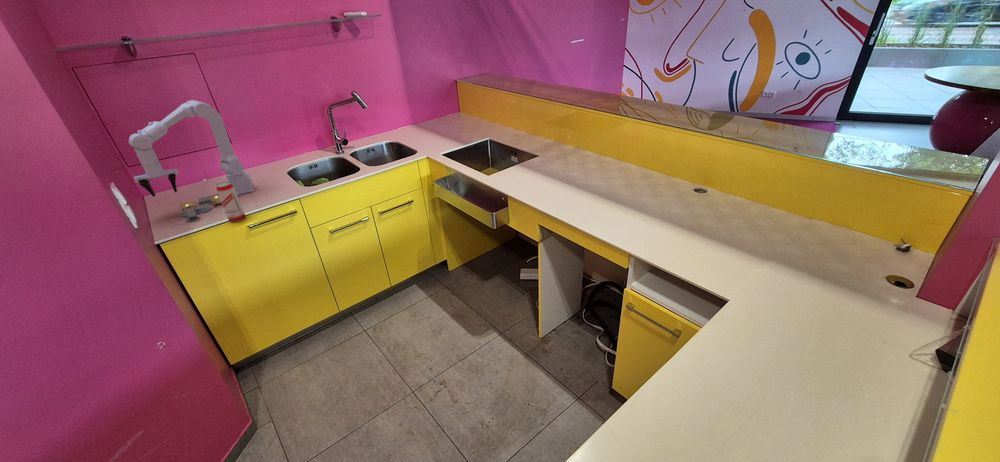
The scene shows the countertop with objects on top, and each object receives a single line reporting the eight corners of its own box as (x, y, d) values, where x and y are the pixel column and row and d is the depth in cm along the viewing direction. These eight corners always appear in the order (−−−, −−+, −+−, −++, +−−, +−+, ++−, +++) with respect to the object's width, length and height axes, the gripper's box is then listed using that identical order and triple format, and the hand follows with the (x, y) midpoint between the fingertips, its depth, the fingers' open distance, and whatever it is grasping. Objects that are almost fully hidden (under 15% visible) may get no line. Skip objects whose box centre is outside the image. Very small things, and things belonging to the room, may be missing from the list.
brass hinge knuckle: (210, 204, 190) (206, 196, 188) (210, 210, 184) (206, 202, 182) (184, 209, 186) (180, 201, 184) (183, 216, 180) (179, 208, 178)
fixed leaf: (225, 196, 198) (221, 188, 196) (225, 204, 190) (222, 195, 188) (200, 201, 193) (196, 193, 191) (200, 210, 186) (196, 201, 184)
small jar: (200, 215, 180) (193, 201, 177) (197, 219, 177) (190, 205, 173) (189, 217, 179) (182, 203, 176) (186, 221, 176) (179, 207, 172)
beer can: (233, 216, 179) (219, 181, 171) (248, 214, 180) (234, 180, 172) (226, 223, 174) (211, 187, 166) (241, 221, 174) (227, 186, 166)
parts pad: (198, 216, 181) (198, 215, 180) (198, 220, 177) (198, 219, 177) (186, 218, 179) (186, 218, 178) (186, 223, 175) (185, 222, 175)
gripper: (172, 156, 177) (185, 186, 183) (129, 164, 170) (145, 194, 177) (171, 161, 171) (185, 191, 178) (127, 169, 165) (143, 200, 172)
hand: (165, 193), depth 177 cm, fingers open, 7 cm apart
